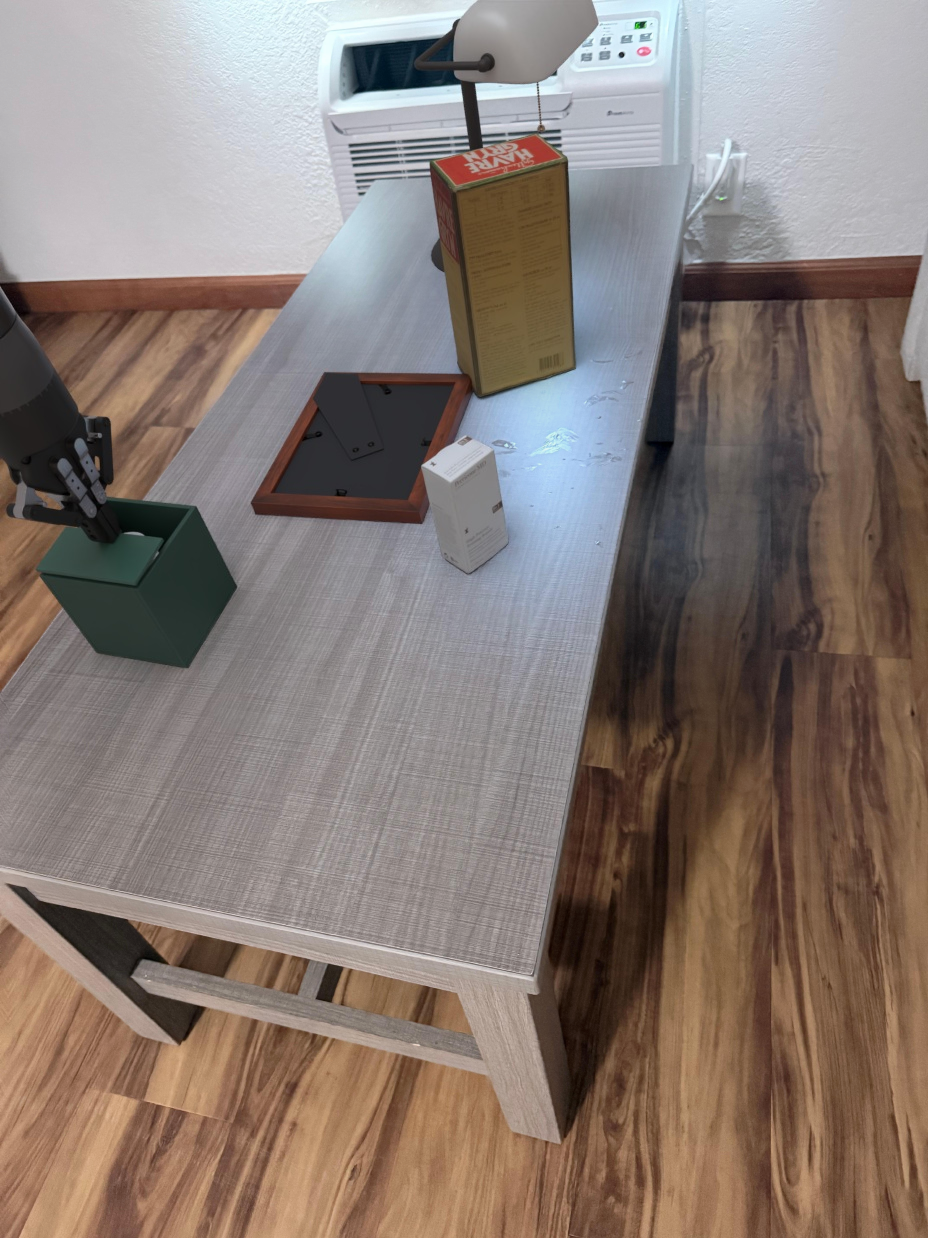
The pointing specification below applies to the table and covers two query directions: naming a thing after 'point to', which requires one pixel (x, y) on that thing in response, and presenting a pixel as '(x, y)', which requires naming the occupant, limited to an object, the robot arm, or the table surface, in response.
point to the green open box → (153, 589)
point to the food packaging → (507, 260)
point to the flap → (100, 557)
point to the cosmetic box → (466, 503)
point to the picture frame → (365, 447)
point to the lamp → (509, 51)
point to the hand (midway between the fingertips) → (109, 536)
